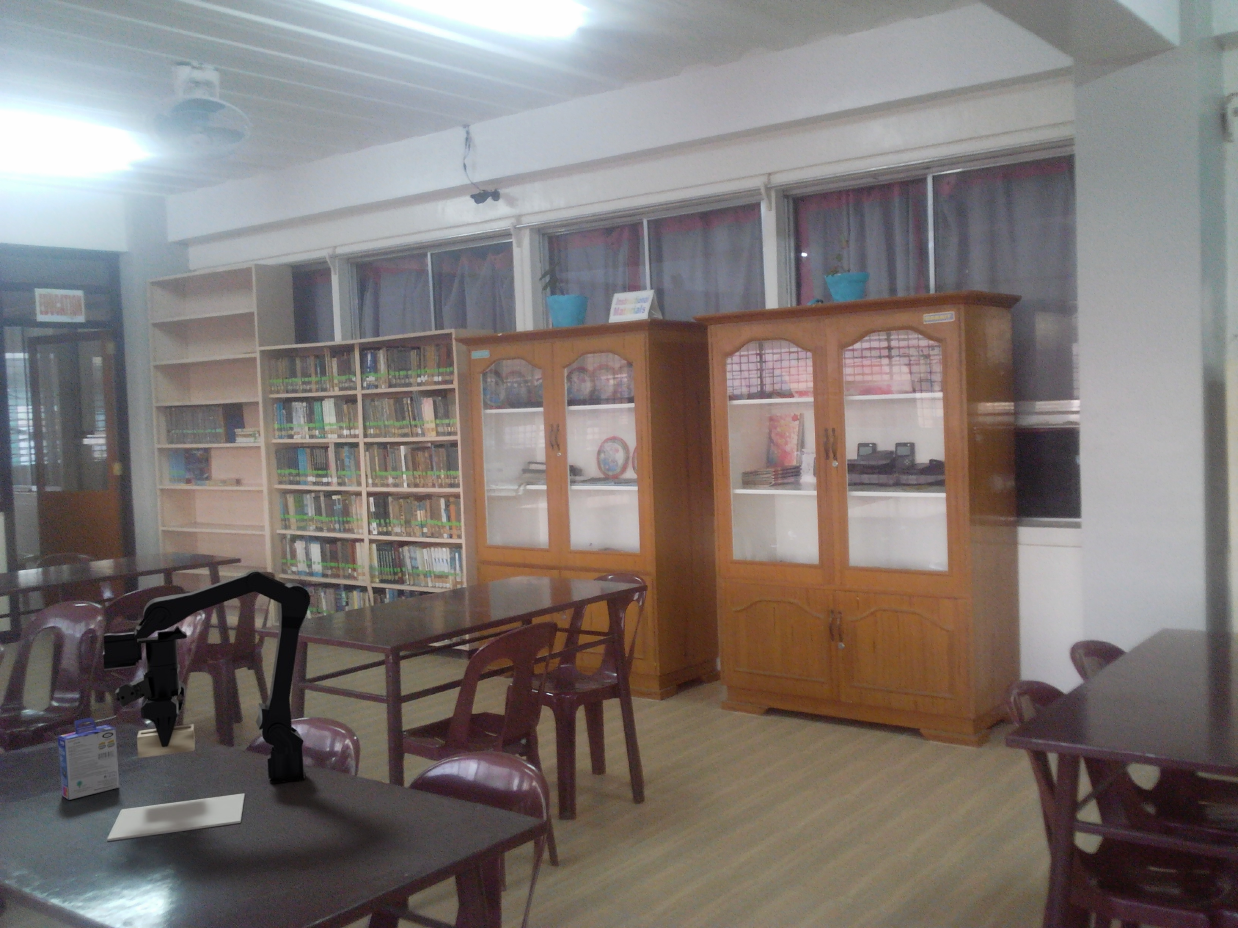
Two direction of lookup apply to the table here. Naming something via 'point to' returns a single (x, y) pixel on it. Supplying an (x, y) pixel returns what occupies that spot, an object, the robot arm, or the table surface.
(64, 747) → the ink cartridge box
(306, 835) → the table surface
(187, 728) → the grooved beige block
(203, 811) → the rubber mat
